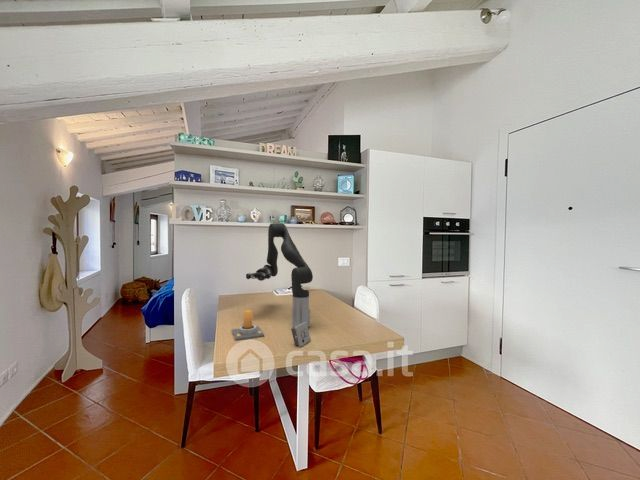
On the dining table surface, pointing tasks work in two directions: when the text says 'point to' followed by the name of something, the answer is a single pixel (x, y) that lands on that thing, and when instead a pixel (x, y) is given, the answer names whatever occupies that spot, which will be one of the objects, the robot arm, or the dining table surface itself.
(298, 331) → the electrical switch
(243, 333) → the grey square mounting plate
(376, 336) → the dining table surface
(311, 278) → the robot arm
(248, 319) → the wire nut
